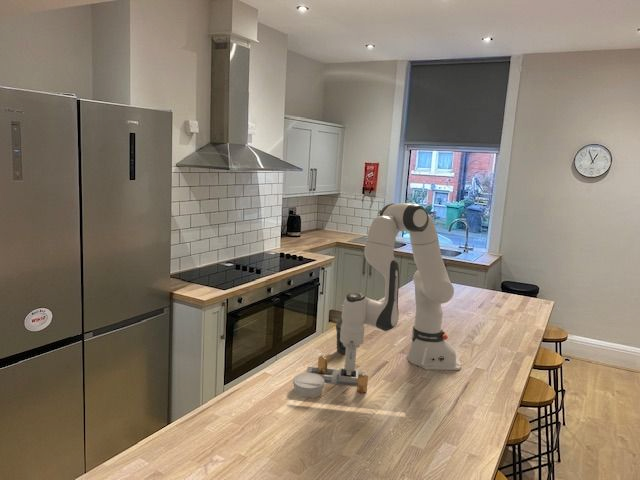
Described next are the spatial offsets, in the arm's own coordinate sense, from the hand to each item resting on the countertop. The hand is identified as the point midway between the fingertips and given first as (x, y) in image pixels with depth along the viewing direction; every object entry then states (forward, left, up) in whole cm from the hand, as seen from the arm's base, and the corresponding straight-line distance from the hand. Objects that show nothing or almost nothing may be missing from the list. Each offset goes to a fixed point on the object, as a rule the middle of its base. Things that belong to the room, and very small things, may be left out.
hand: (348, 371), depth 177 cm
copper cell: (-5, +9, -4) cm, 11 cm away
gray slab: (+5, 0, -4) cm, 6 cm away
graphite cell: (0, 0, -3) cm, 3 cm away
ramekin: (+14, +13, -4) cm, 19 cm away
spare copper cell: (+10, 0, -3) cm, 10 cm away
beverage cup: (+3, -26, -4) cm, 26 cm away
